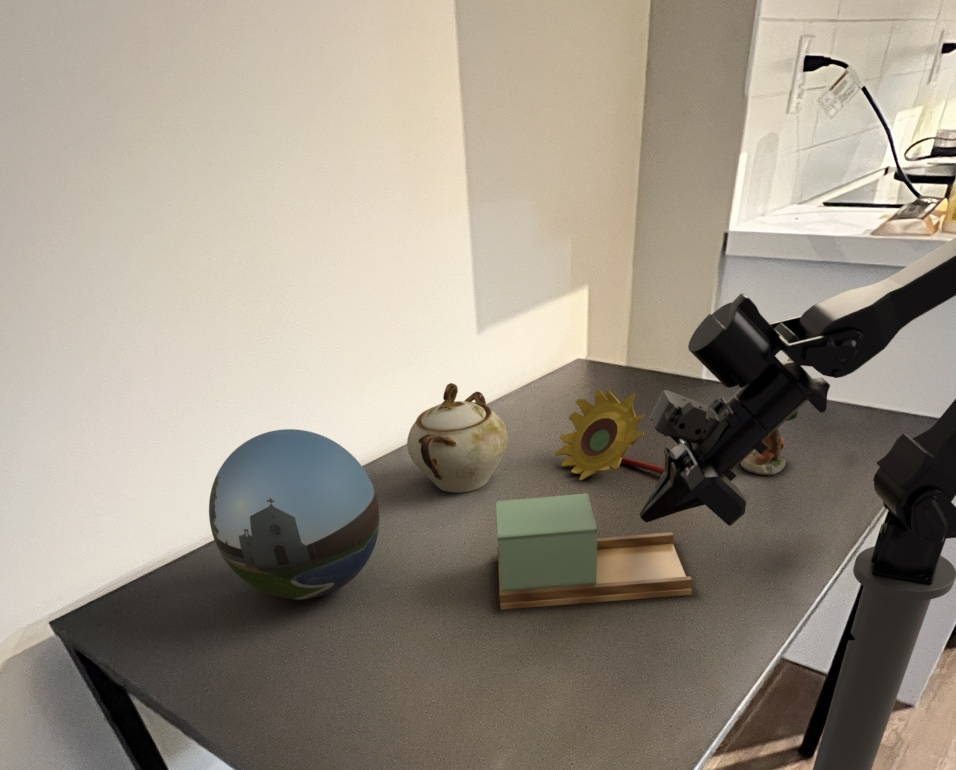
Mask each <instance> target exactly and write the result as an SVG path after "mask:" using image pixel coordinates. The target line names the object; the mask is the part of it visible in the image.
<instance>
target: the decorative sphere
mask: <svg viewBox="0 0 956 770" xmlns="http://www.w3.org/2000/svg"><path fill="white" fill-rule="evenodd" d="M208 501H209V502H208V516H209V519H208V520H209V525H210V529H211V530H210V531H211V534H212V537H213V540H214V543H215V545H216V547H217V549H218V551H219V554H220V555H221V556H222V558H223V560H224V562H226V564H227V565H228V567H230V569H231V570H232V571H233V572H234V573H235V574H236V575H237V576H238V577H239V578H241V579H242V580H243V582H246V583H247V584H248V585H250V586H252V587H253V588H255V589H257V590H258V591H260V592H262V593H265V594H268V595H271V596H274V597H277V598H282V599H287V600H309V599H315V598H320V597H324V596H326V595H329V594H332V593H333V592H336V591H338V590H340V589H341V588H343V587H345V586H346V585H347V584H349V583H351V581H352V580H354V579H355V578H356V576H358V575H359V573H360V572H361V571H362V570H363V569H364V567H365V566H366V565H367V563H368V561H369V560H370V558H371V556H372V554H373V551H374V549H375V546H376V544H377V540H378V536H379V530H380V508H379V501H378V498H377V493H376V491H375V487H374V485H373V482H372V480H371V479H370V476H369V475H368V473H367V471H366V470H365V469H364V467H363V466H362V464H361V463H360V462H359V461H358V460H357V458H356V457H355V456H353V454H352V453H351V452H350V451H348V450H347V449H346V448H345V447H344V446H342V445H341V444H340V443H338V442H336V441H334V440H332V439H331V438H329V437H328V436H327V437H326V436H325V435H322V434H320V433H316V432H312V431H308V430H303V429H295V428H287V429H276V430H271V431H267V432H263V433H260V434H258V435H256V436H254V437H252V438H249V439H248V440H247V441H245V442H243V443H242V444H240V445H239V446H238V447H236V448H235V449H234V450H233V451H232V452H231V453H230V454H229V456H227V458H225V460H224V461H223V462H222V464H221V466H220V467H219V469H218V471H217V473H216V475H215V477H214V480H213V483H212V486H211V489H210V493H209V500H208Z"/></svg>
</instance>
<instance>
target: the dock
mask: <svg viewBox="0 0 956 770" xmlns="http://www.w3.org/2000/svg"><path fill="white" fill-rule="evenodd" d="M497 560H498V582H499V592H498V593H499V594H498V596H499V603H500V604H499V606H500V611H502V610H503V611H504V610H515V609H517V610H518V609H528V608H541V607H542V608H543V607H554V606H555V607H556V606H567V605H579V604H592V603H593V604H594V603H604V602H607V603H608V602H618V601H620V602H621V601H630V600H631V601H632V600H643V599H655V598H669V597H670V598H671V597H682V596H684V597H685V596H691V595H692V586H693V585H692V584H693V579H692V576H691V575H686V572H685V570H684V568H683V565H682V562H681V560H680V558H679V555H678V553H677V551H676V548H675V546H674V533H673V532H671V531H669V532H656V533H646V534H645V533H644V534H634V535H631V534H630V535H620V536H608V537H597V584H586V585H574V586H561V587H549V588H536V589H524V590H511V591H502V584H501V572H500V561H499V549H498V548H497Z"/></svg>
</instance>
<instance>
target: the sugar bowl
mask: <svg viewBox="0 0 956 770" xmlns="http://www.w3.org/2000/svg"><path fill="white" fill-rule="evenodd" d="M458 389H459V388H458V386H457V384H455V383H453V382H450V383H448V384H447V385H446V386H445V389H444V391H443V396H442V398H443V402H442V403H440V404H438V405H437V404H436V405H435V406H432V407H430V408H428V409H426V410H423V411H422V412H421V413H420V414H419V415H418V416H417V418H416V420H415V421H414V423H413V424H412V426H411V427H410V429H409V432H408V436H407V440H406V441H407V442H406V447H407V452H408V455H409V457H410V459H411V461H412V462H413V464H414V465H415V466H416V467H417V469H419V470H420V472H421V473H423V475H424V476H426V477H427V478H428V479H429V480H430V481H431V482H432V483H433V484H434V485H436V487H437V488H438V489H440V490H441V491H444V492H447V493H457V494H459V493H468V492H469V493H470V492H472V491H475V490H478V489H480V488H482V487H484V486H485V485H486V484H487V483H488V482H489V480H490V478H491V477H492V475H493V474H494V472H495V471H496V469H497V467H498V466H499V464H500V462H501V461H502V458H503V456H504V455H505V452H506V449H507V446H508V440H509V439H508V438H509V436H508V430H507V427H506V425H505V422H504V421H503V419H502V418H501V417H500V416H499V415H498V414H497V413H496V412H495V411H493V410H492V409H491V408H490V407H489V406H488V405H487V401H486V398H485V396H484V394H483V392H481V391H474V392H473V393H471V394H470V395H469V396H468V397H467V398H466V399H464V400H456V398H457V395H458V392H459V390H458ZM473 401H474V402H473Z"/></svg>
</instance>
